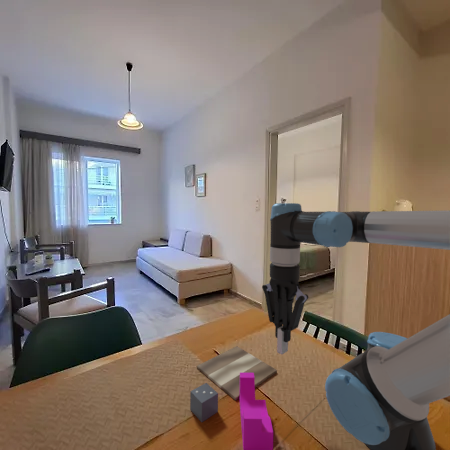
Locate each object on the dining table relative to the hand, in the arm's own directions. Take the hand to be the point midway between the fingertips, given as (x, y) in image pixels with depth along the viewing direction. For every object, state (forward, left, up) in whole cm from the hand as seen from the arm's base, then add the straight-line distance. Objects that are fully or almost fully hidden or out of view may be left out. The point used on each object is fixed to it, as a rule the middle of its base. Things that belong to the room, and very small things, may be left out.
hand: (282, 351), depth 67 cm
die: (+11, +17, -14) cm, 25 cm away
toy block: (0, +10, -14) cm, 18 cm away
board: (+17, 0, -14) cm, 22 cm away
